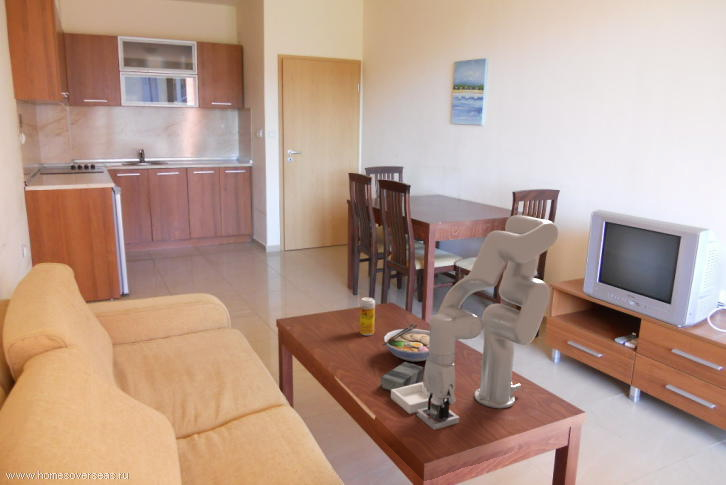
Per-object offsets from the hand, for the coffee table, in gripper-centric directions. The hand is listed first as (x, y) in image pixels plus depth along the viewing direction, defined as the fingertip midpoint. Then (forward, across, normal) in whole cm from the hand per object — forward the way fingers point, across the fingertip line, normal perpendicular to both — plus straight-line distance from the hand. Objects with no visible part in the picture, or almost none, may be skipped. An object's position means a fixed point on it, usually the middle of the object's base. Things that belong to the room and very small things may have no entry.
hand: (438, 412), depth 164 cm
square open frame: (+2, 0, 0) cm, 2 cm away
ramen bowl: (+2, -40, +18) cm, 44 cm away
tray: (+2, -12, 0) cm, 12 cm away
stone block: (+3, -24, +2) cm, 24 cm away
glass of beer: (+2, -69, +14) cm, 70 cm away
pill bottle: (+2, 0, 0) cm, 2 cm away
